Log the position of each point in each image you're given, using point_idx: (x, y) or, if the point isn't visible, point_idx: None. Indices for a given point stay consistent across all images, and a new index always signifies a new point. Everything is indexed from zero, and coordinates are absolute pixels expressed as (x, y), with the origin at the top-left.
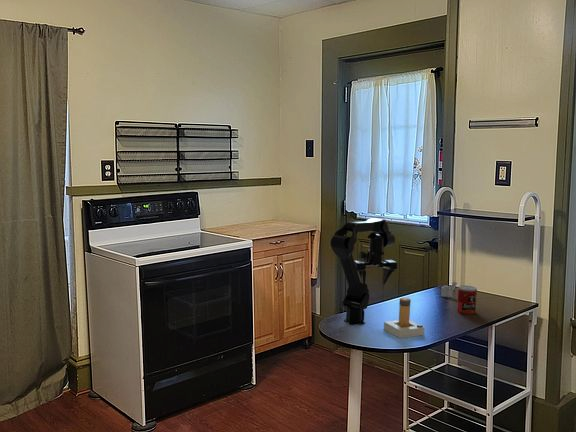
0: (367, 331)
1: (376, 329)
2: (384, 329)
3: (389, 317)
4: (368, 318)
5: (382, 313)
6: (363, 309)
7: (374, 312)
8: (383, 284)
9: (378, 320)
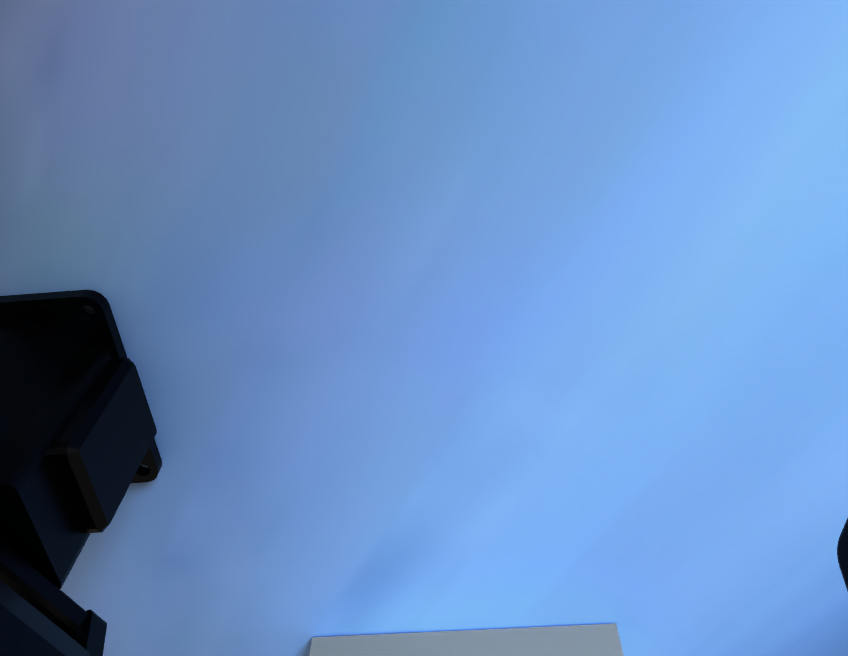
0: (116, 648)
1: (232, 625)
2: (314, 647)
3: (625, 316)
4: (287, 289)
5: (648, 100)
6: (70, 565)
7: (540, 4)
8: (844, 548)
9: (394, 393)
